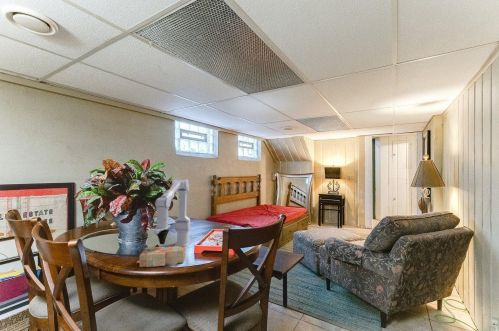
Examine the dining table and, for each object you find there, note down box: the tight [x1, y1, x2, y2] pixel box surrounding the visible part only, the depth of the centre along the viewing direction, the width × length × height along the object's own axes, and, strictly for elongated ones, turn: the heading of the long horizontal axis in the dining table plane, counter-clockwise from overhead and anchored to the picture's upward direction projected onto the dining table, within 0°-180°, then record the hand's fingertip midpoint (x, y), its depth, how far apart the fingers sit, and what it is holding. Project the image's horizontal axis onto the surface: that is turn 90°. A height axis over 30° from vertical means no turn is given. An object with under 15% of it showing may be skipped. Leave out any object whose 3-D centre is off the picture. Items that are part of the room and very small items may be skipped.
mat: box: [135, 259, 178, 266], centre depth 126 cm, size 8×22×1 cm, turn 83°
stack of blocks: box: [139, 245, 187, 268], centre depth 124 cm, size 21×6×12 cm
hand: (162, 243), depth 129 cm, fingers closed
